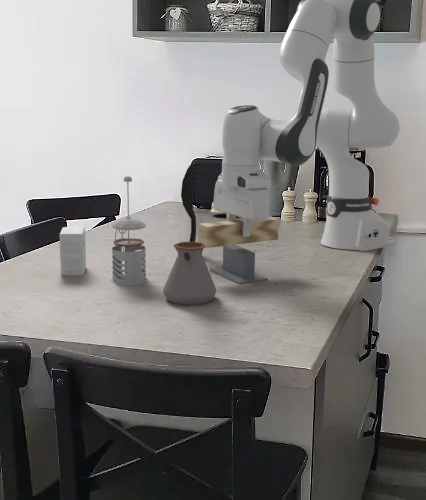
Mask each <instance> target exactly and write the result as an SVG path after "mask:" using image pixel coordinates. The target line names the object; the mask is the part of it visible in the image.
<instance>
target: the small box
mask: <svg viewBox="0 0 426 500" xmlns="http://www.w3.org/2000/svg"><path fill="white" fill-rule="evenodd" d="M86 248H87V247H86V227H84V226H69V227H68V226H64V227H63V226H62V228H61V230H60V232H59V253H60V254H59V255H60V256H59V257H60V259H59V260H60V276H84V274H85V272H86V268H87V254H86V253H87V252H86V251H87V250H86Z"/></svg>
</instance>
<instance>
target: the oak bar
mask: <svg viewBox="0 0 426 500" xmlns="http://www.w3.org/2000/svg"><path fill="white" fill-rule="evenodd" d="M279 222H280V221H279V219H278V218H275V217H272V216H269V217H268V219H267V220H266V221H263V222H253V225H252V227H251V229H250V236H249V237H244V236H241V228H243V225H244V223H243V218H242V219H241V218H240V219H236V220H230V221H228V220H222V221H213V222H211V221H209V222H203V223H198V232H197V233H198V235H197V237H198V240H197V242H199V243H203V244H205V248H206V249H208V248H209V249H211V248H218V247H223V246H228V245H237V246H238V245H244V244H252V243H261V242H269V241H270V242H271V241H278V240H279V224H280V223H279ZM205 248H204V249H205Z"/></svg>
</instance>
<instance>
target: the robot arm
mask: <svg viewBox="0 0 426 500" xmlns="http://www.w3.org/2000/svg"><path fill="white" fill-rule="evenodd" d="M381 15H382V11H381V6H380V3H379V2H378V1H377V0H301V1H299V2H298V5H297V8H296V11H295V13H294V16H293V17H292V19H291V21H290V23H289V25H288V28H287V30H286V31H285V34H284V37H283V40H282V41H281V44H280V47H279V48H280V49H279V52H278V53H279V54H278V55H279V56H278V58H279V61H280V63H281V66H282V68H283V69H284V70H285V71H286V73H287V74H289V75H290V76H291V77H292V78H294V79H296V80H297V81H299V82H301V91H300V95H299V100H298V102H297V104H298V105H297V107H296V111H295V115H294V116H293V117H292V118H291V119H289V120H277V119H272V118H271V117H268V116H267V115H264V114H263V113H262V112H260V111H259V108H258V106H255V105H252V104H249V105H248V104H246V105H245V104H244V105H237V106H234V107H230V108H229V109H228V110H227V111H226V113H225V114H224V115H225V116H224V119H223V126H222V127H223V128H222V140H221V141H222V142H221V143H222V148H223V157H222V162H221V172H220V174H219V175H218V177H217V180H216V182H215V185H214V191H213V202H214V206H215V208H216V209H218V210H221V211H224V212H227V213H225V215H226V219H227V220H226V221H230V220H237V219H236V218H237V217H239V218H240V219H241V218H242V219H243V223H244V225H243V228H241V236H244V237H249V236H250V229H251V227H252V225H253V222H263V221H266V220H267V219H268V217H270V211H271V210H270V207H271V194H270V191H269V188H271V186H272V179H271V178H270V177H269V176H268V175H266V174H265V172H264V171H263V170H262V169H261V166H260V165H261V162H260V159H261V160H267V161H271V162H278V163H283V164H286V165H290V166H294V167H299V166H302V165H304V164H305V163H306V162H307V161H309V159H310V158H312V156H313V155H314V153H315V151H316V148H317V149H319V150H320V152H321V153H322V155H323V157H324V158H325V161H326V164H327V168H328V181H329V182H328V195H327V196H326V220H325V224H324V230H323V234H322V237H321V240H320V244H321V245H322V246H325V247H329V248H333V249H339V250H352V251H353V250H354V251H362V252H369V251H373V250H377V249H382V248H385V247H390V246H395V245H398V241H397V239H395V238H393V237H391V236H390V226H389V224H388V222H387V221H386V220H385V219H384V218H383V217H382V216H380V215H379V214H378V213H377V212H376V211H375V210H374V209H373V206H372V205H374V206H378V205H379V203H380V199H379V198H377V197H369V184H370V183H369V182H370V171H369V169H368V166H366V165H365V164H364V163H363V162H362V161H360V160H358V159H356V158H355V157H353V156H352V155H351V153H350V149H351V148H354V149H355V148H356V149H381V148H385V147H386V148H387V147H391V146H392V145H394V143H395V142H396V140H397V139H398V137H399V135H400V134H399V133H400V127H401V126H400V121H399V119H398V116H397V114H395V113H394V112H393V111H392V110H390V108H388V107H387V106H386V105H385V104H384V102H383V101H382V100H381V98H380V96H379V94H378V92H377V88H376V83H375V82H376V81H375V80H376V79H375V39H374V37H375V36H374V34H375V32H376V31H377V30H378V28H379V26H380V22H381ZM332 40H333V46H332V78H331V79H332V83H331V84H332V86H333V89H334V90H335V92H337V93H338V94H339V95H341V96H343V97H344V98H347V99H348V100H349V101H350V102H351V103H352V105H353V107H338V106H335V107H334V106H329V107H328V106H327V107H323V106H324V101H325V97H326V93H327V88H328V83H329V77H330V76H329V74H330V72H329V71H330V70H329V68H328V64H327V63H326V57H327V53H328V50H329V47H330V45H331V42H332Z"/></svg>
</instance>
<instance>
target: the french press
mask: <svg viewBox="0 0 426 500" xmlns="http://www.w3.org/2000/svg"><path fill="white" fill-rule="evenodd" d="M132 181H133V179H132V177H131V176H129V175H127V176H124V178H123V182H124V183H125V182H126V184H127V186H126V187H127V191H126V192H127V216H126V217H123V218H119V219H117V220H115V221H113V222H112V223H111V224H110V226H111V227H112V228H113V229H116V230H115V234H114V235H115V236H114V240H113V242H112V243H113V244H114V246H113V247H112V248H111V254H112V256H111V258H112V262H111V263H112V277H111V278H110V279H109V281H110V282H111V283H113V284H116V285H122V286H123V285H125V286H127V285H128V286H129V285H131V286H132V285H139V284H143V283H146V282H147V283H148V281H149V278H148V277H147V273H146V272H147V271H146V270H147V268H146V267H147V263H146V259H147V258H146V256H147V254H146V247H145V246H144V243H145V241H144V240H143V239H141V238H132V237H130V231H138V230H142V229H144V228H146V226H147V224H146V223H145V222H144V221H142V220H141V219H139V218H135V217H130V212H129V211H130V210H129V209H130V206H129V205H130V202H129V201H130V199H129V196H130V195H129V191H130V190H129V183H130V182H132ZM117 233H119V234H120V235H121V238H117ZM125 233H127V237H124V234H125ZM123 262H124V263H123Z"/></svg>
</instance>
